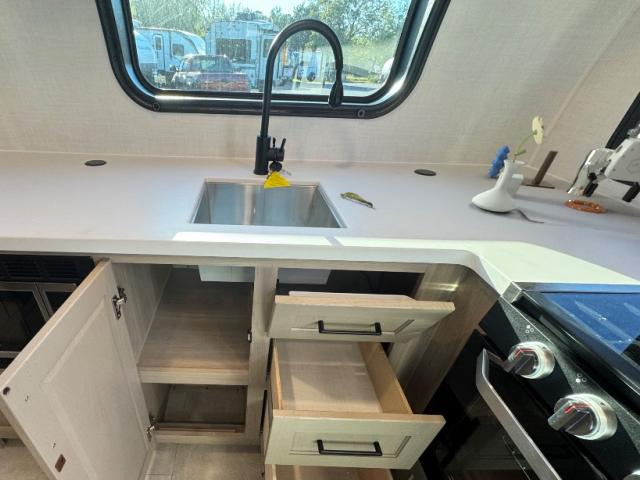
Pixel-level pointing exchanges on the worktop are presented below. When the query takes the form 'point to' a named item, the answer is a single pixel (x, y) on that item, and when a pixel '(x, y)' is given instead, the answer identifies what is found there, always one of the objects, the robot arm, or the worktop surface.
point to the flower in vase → (508, 177)
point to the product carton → (513, 183)
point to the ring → (595, 209)
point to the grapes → (499, 161)
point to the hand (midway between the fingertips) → (605, 198)
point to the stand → (542, 173)
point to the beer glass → (581, 177)
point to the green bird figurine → (356, 198)
